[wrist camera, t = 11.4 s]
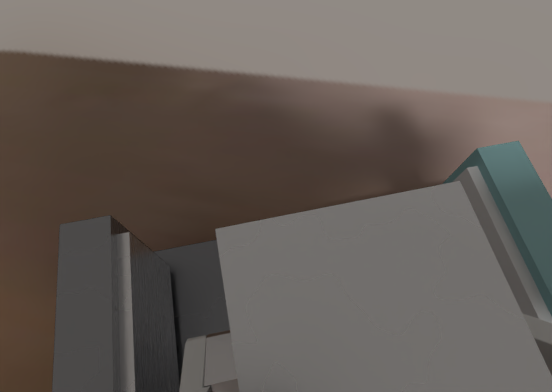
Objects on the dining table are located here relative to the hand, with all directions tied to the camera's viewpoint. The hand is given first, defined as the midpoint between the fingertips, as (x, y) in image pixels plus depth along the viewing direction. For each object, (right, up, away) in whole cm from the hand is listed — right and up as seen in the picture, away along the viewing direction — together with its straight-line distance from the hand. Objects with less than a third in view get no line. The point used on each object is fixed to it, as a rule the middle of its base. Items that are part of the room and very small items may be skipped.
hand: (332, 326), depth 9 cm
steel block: (0, -2, +4) cm, 5 cm away
